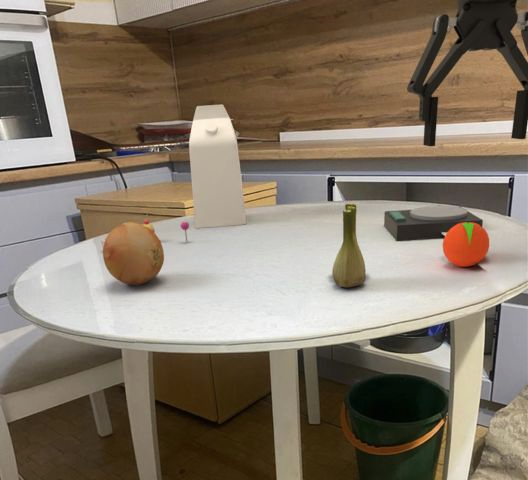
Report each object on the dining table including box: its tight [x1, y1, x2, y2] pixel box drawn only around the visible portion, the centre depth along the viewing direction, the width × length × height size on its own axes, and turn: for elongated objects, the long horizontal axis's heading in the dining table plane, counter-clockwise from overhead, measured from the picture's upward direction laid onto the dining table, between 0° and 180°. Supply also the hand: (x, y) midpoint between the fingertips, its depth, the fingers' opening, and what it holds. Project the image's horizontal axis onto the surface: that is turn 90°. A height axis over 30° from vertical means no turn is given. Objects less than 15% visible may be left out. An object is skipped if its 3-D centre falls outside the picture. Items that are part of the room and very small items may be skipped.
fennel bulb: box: [331, 203, 367, 288], centre depth 78 cm, size 6×5×12 cm
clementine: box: [442, 221, 490, 268], centre depth 83 cm, size 8×7×7 cm
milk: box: [188, 104, 247, 229], centre depth 125 cm, size 12×12×26 cm
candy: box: [100, 213, 190, 248], centre depth 112 cm, size 18×8×6 cm, turn 109°
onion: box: [102, 221, 165, 286], centre depth 87 cm, size 10×10×10 cm
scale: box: [383, 205, 484, 242], centre depth 108 cm, size 16×14×4 cm
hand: (473, 142), depth 79 cm, fingers open, 13 cm apart
